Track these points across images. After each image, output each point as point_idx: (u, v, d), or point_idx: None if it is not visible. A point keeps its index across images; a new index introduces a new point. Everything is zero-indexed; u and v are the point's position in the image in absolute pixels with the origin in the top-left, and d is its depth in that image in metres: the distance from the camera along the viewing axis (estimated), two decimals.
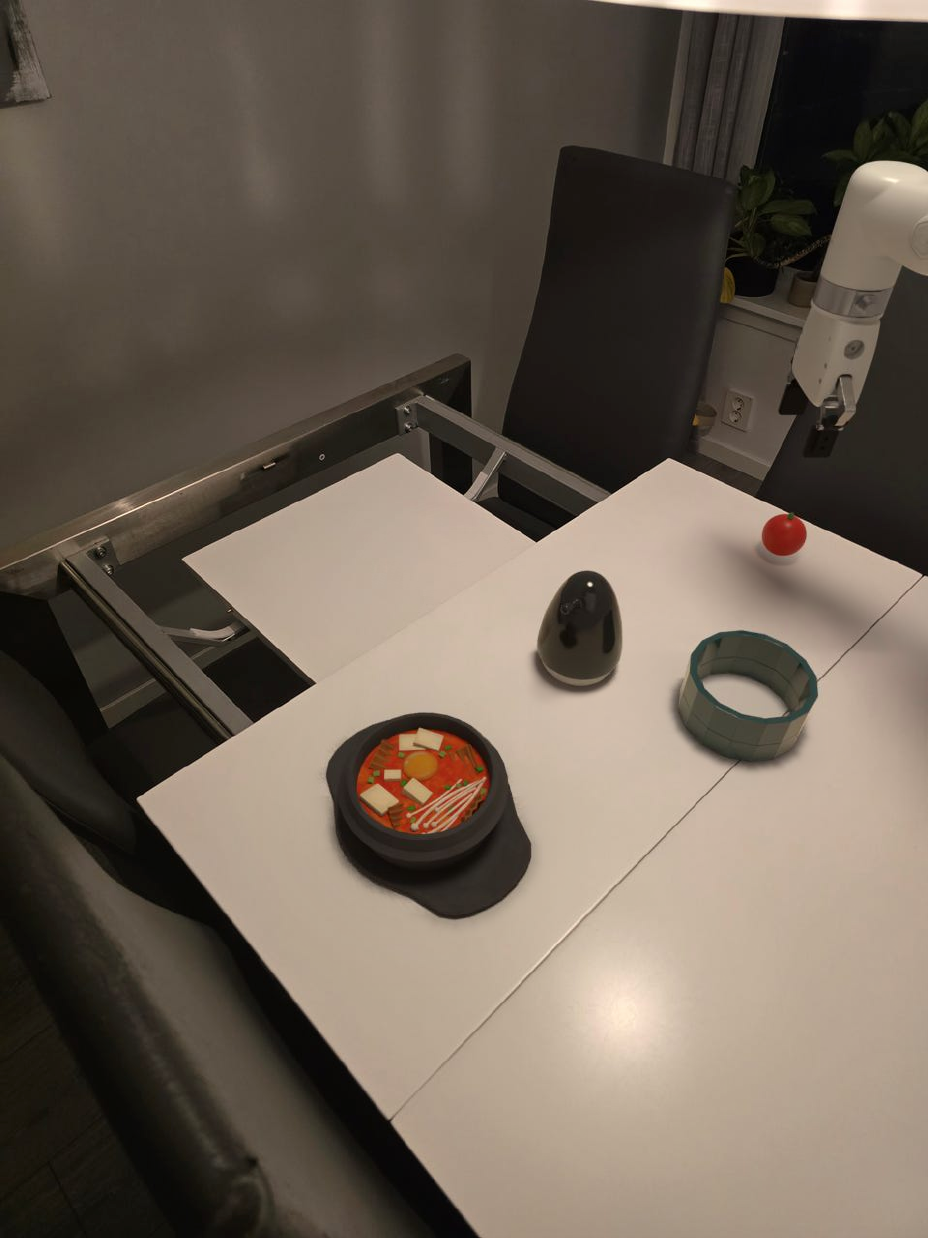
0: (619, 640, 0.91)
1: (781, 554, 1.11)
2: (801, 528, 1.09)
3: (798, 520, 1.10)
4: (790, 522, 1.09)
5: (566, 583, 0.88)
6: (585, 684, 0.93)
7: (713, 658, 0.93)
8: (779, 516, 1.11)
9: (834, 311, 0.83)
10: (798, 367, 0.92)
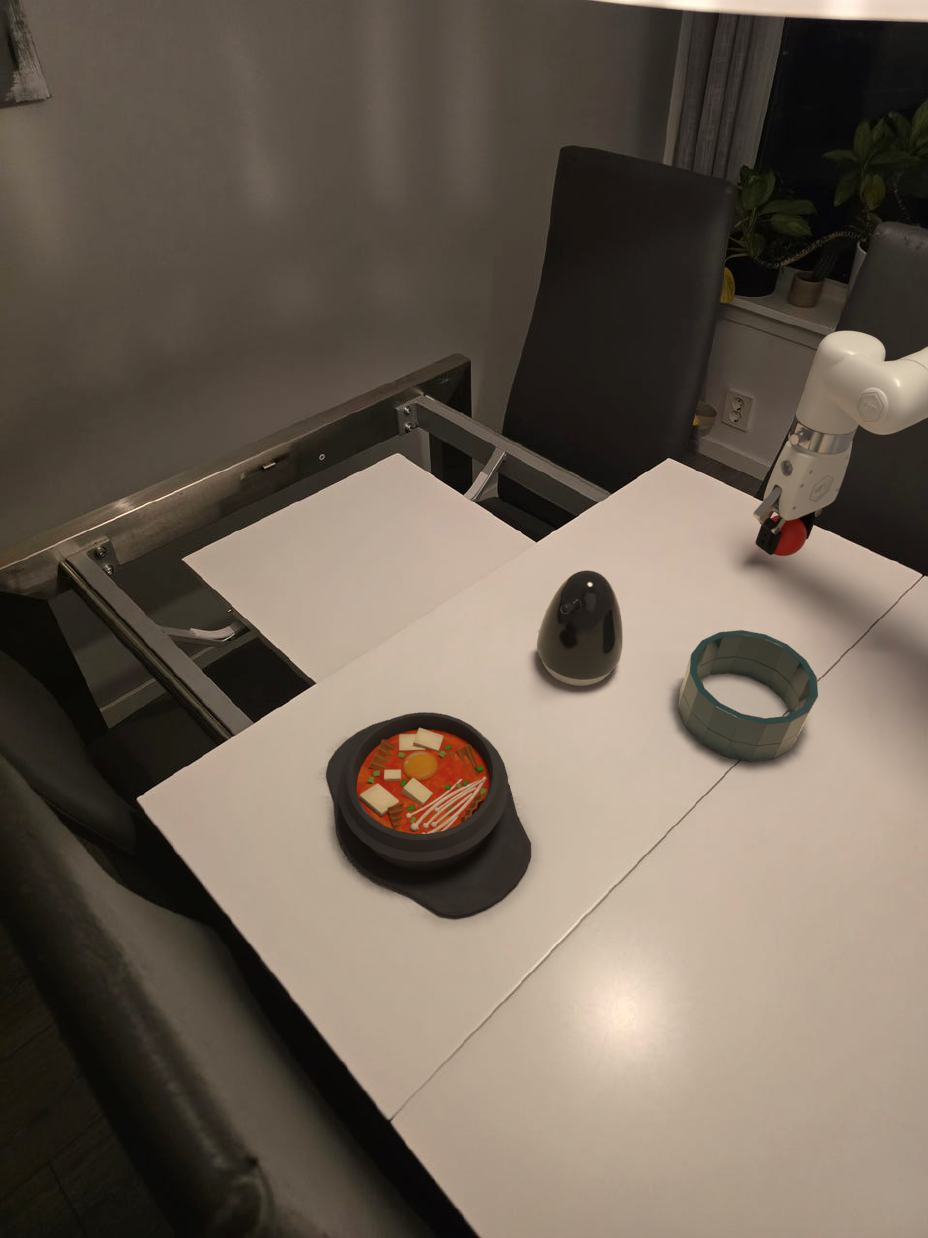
0: (619, 640, 0.91)
1: (781, 554, 1.11)
2: (801, 528, 1.09)
3: (798, 520, 1.10)
4: (790, 522, 1.09)
5: (566, 583, 0.88)
6: (585, 684, 0.93)
7: (713, 658, 0.93)
8: (779, 516, 1.11)
9: (790, 433, 1.01)
10: None
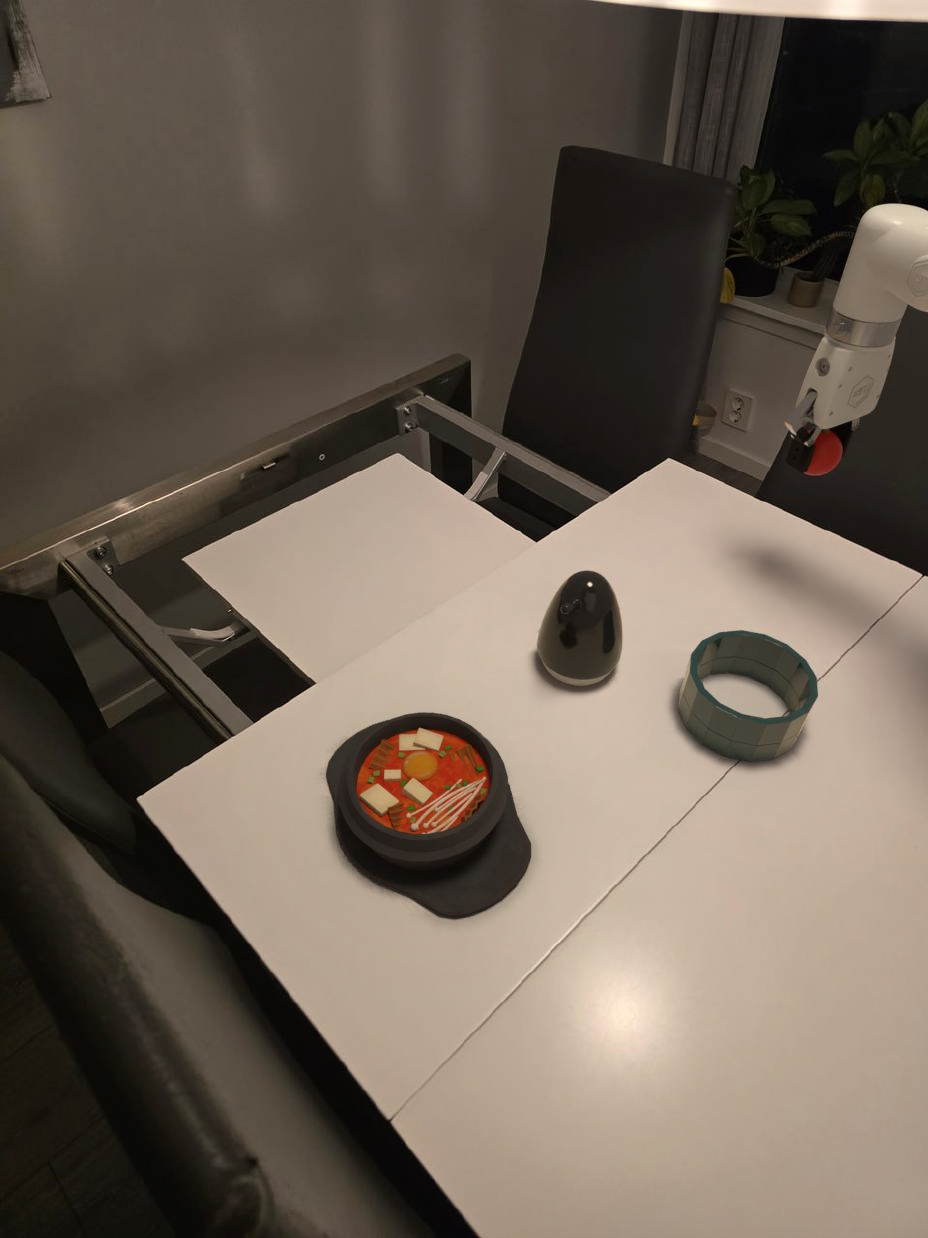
0: (619, 640, 0.91)
1: (814, 472, 1.01)
2: (836, 442, 0.99)
3: (833, 434, 1.00)
4: (824, 435, 0.99)
5: (566, 583, 0.88)
6: (585, 684, 0.93)
7: (713, 658, 0.93)
8: None
9: (826, 328, 0.91)
10: None
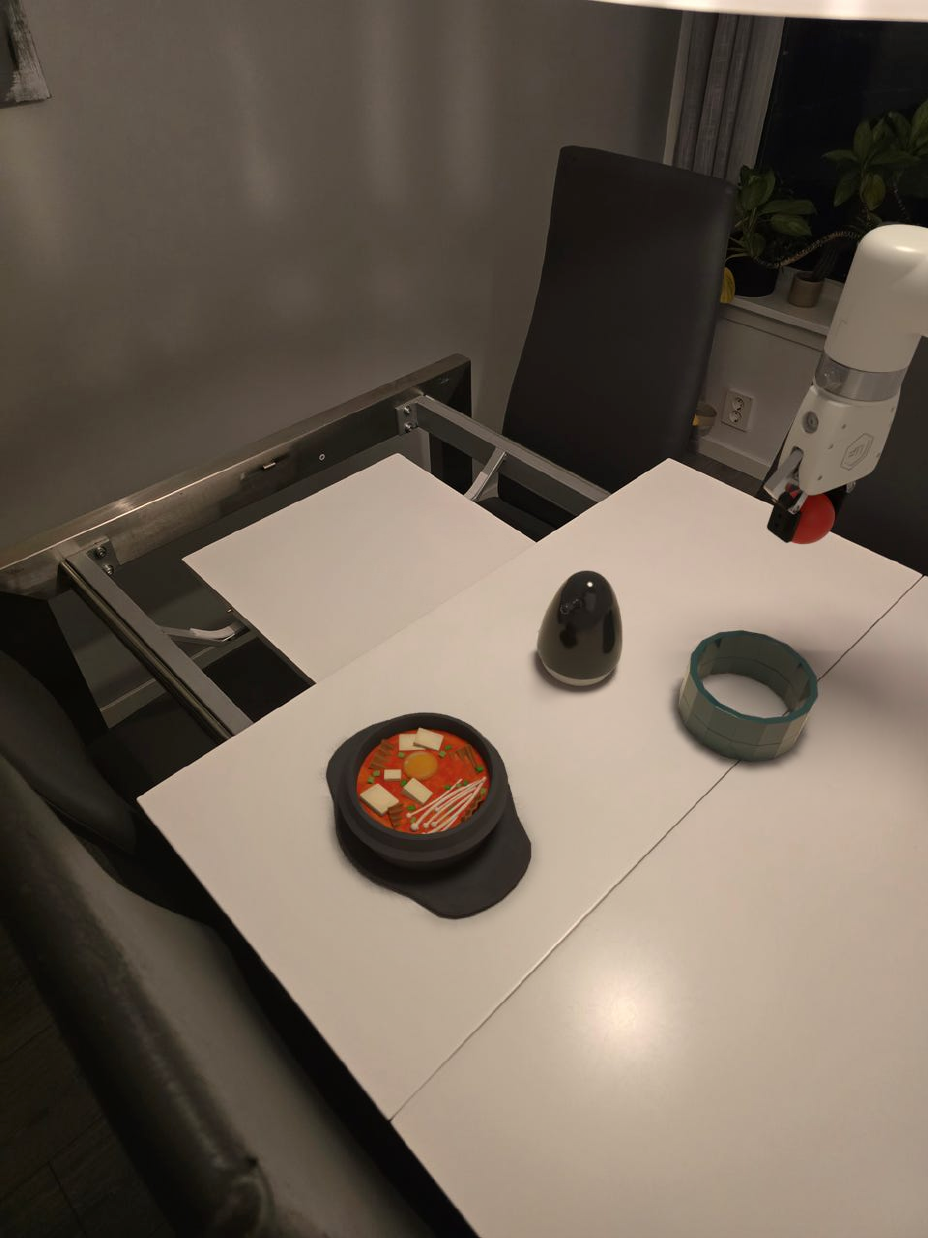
0: (619, 640, 0.91)
1: (800, 542, 0.84)
2: (827, 507, 0.82)
3: (824, 496, 0.83)
4: (813, 499, 0.82)
5: (566, 583, 0.88)
6: (585, 684, 0.93)
7: (713, 658, 0.93)
8: (798, 491, 0.84)
9: (815, 374, 0.74)
10: None
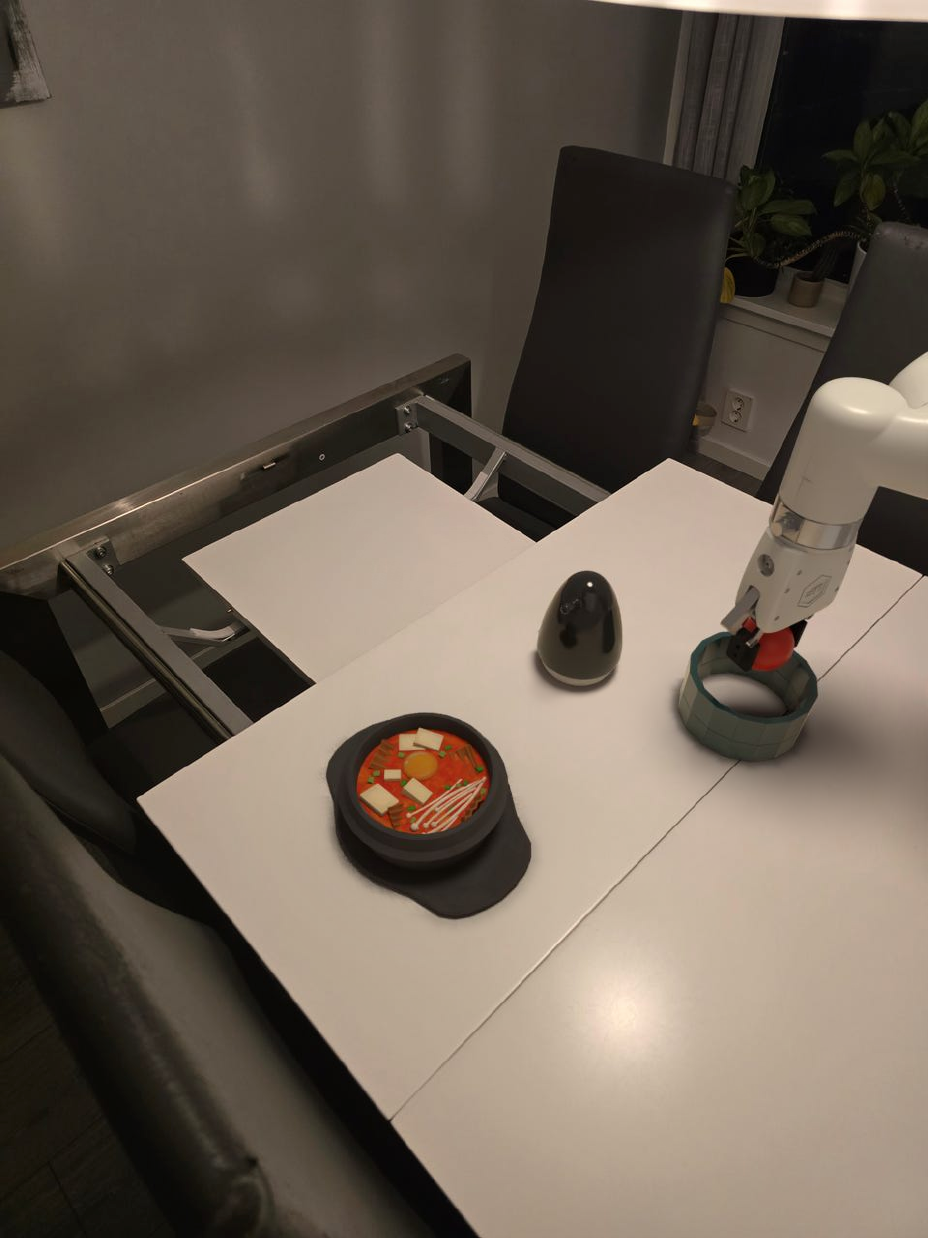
0: (619, 640, 0.91)
1: (760, 670, 0.82)
2: (786, 638, 0.80)
3: None
4: None
5: (566, 584, 0.88)
6: (585, 684, 0.93)
7: (713, 658, 0.93)
8: None
9: (771, 516, 0.72)
10: None
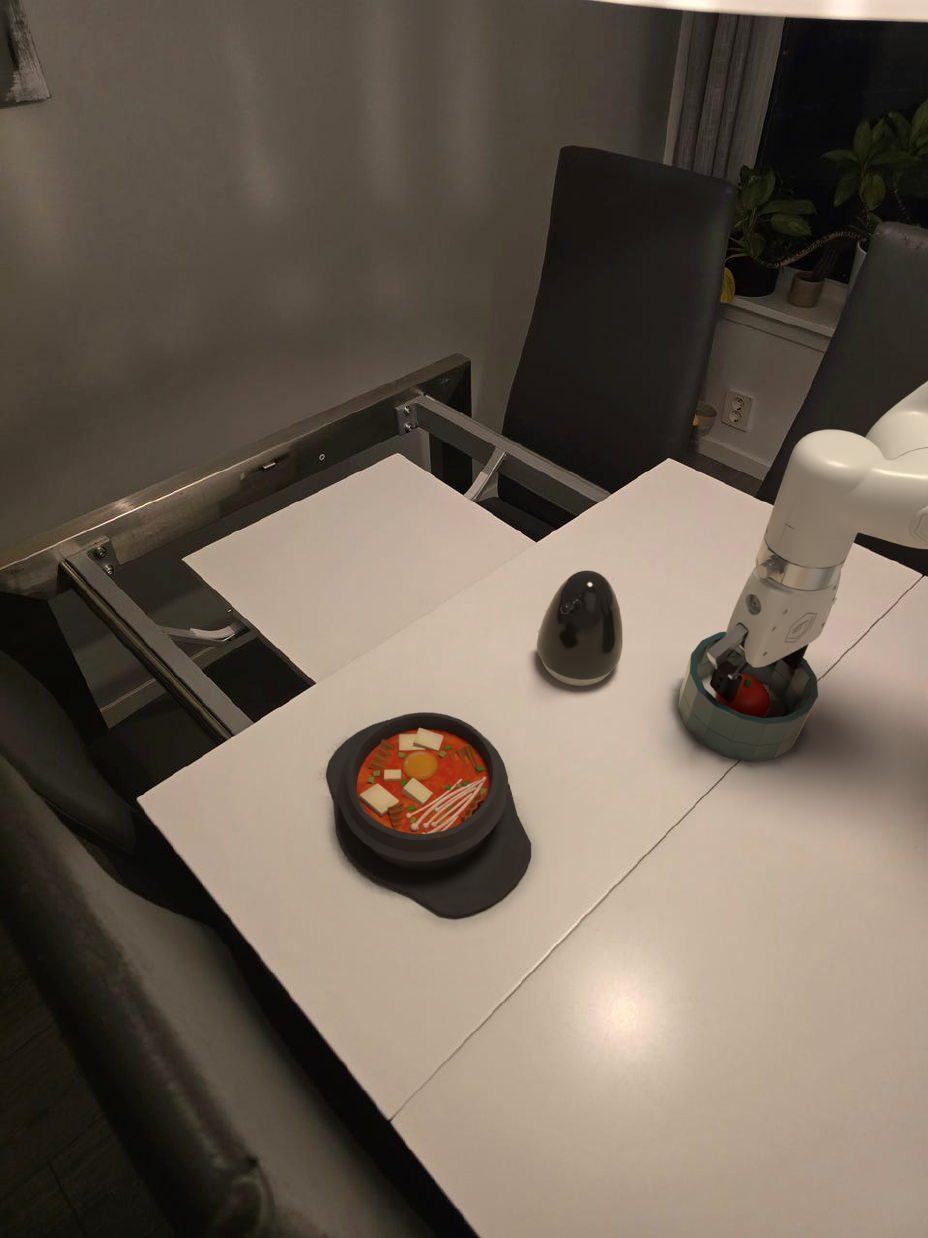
0: (619, 640, 0.91)
1: None
2: (761, 698, 0.87)
3: (757, 686, 0.87)
4: (747, 691, 0.87)
5: (566, 584, 0.88)
6: (585, 684, 0.93)
7: None
8: None
9: (757, 557, 0.76)
10: None
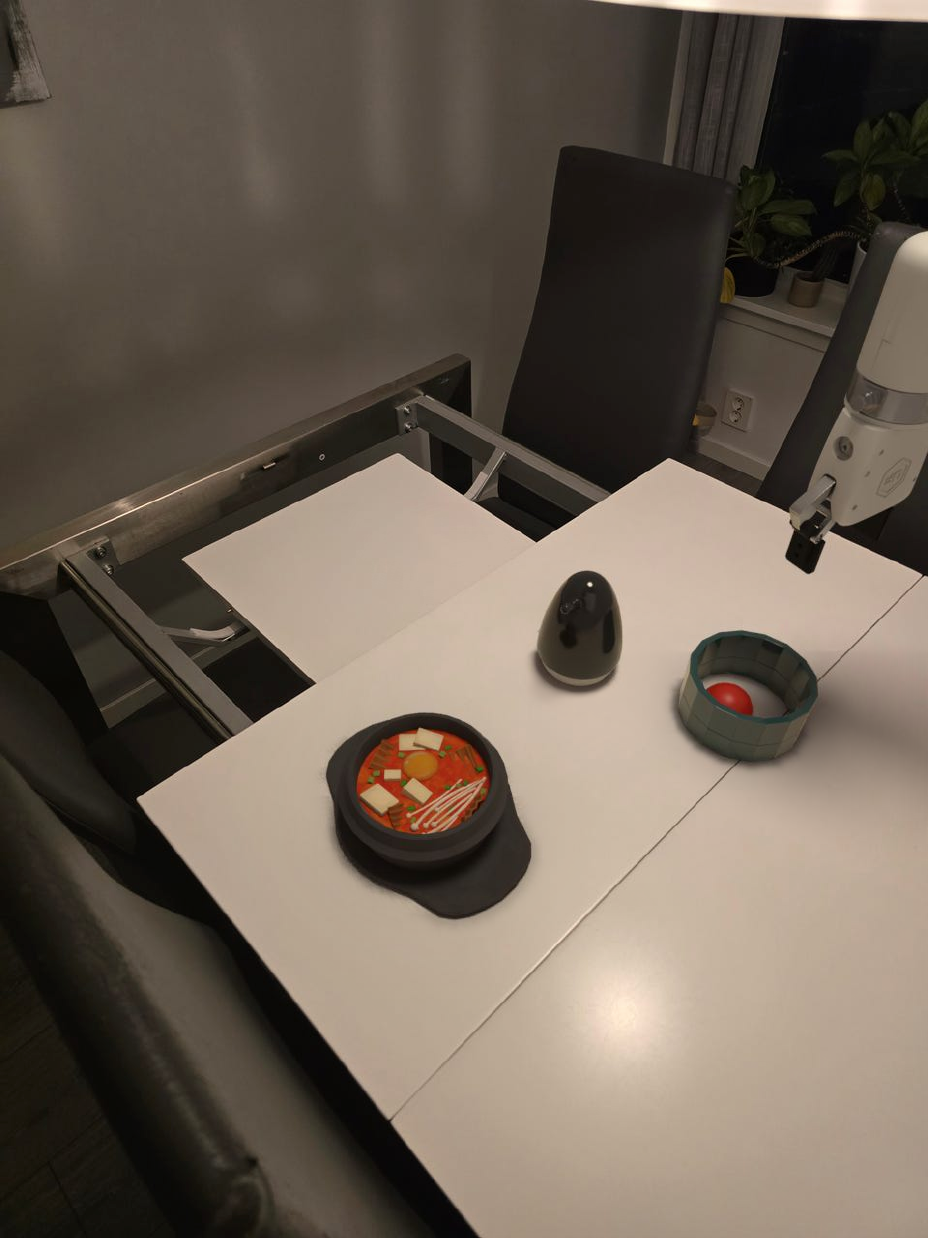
0: (619, 640, 0.91)
1: None
2: None
3: (724, 704, 0.86)
4: None
5: (566, 583, 0.88)
6: (585, 684, 0.93)
7: (713, 658, 0.93)
8: None
9: (847, 395, 0.68)
10: None
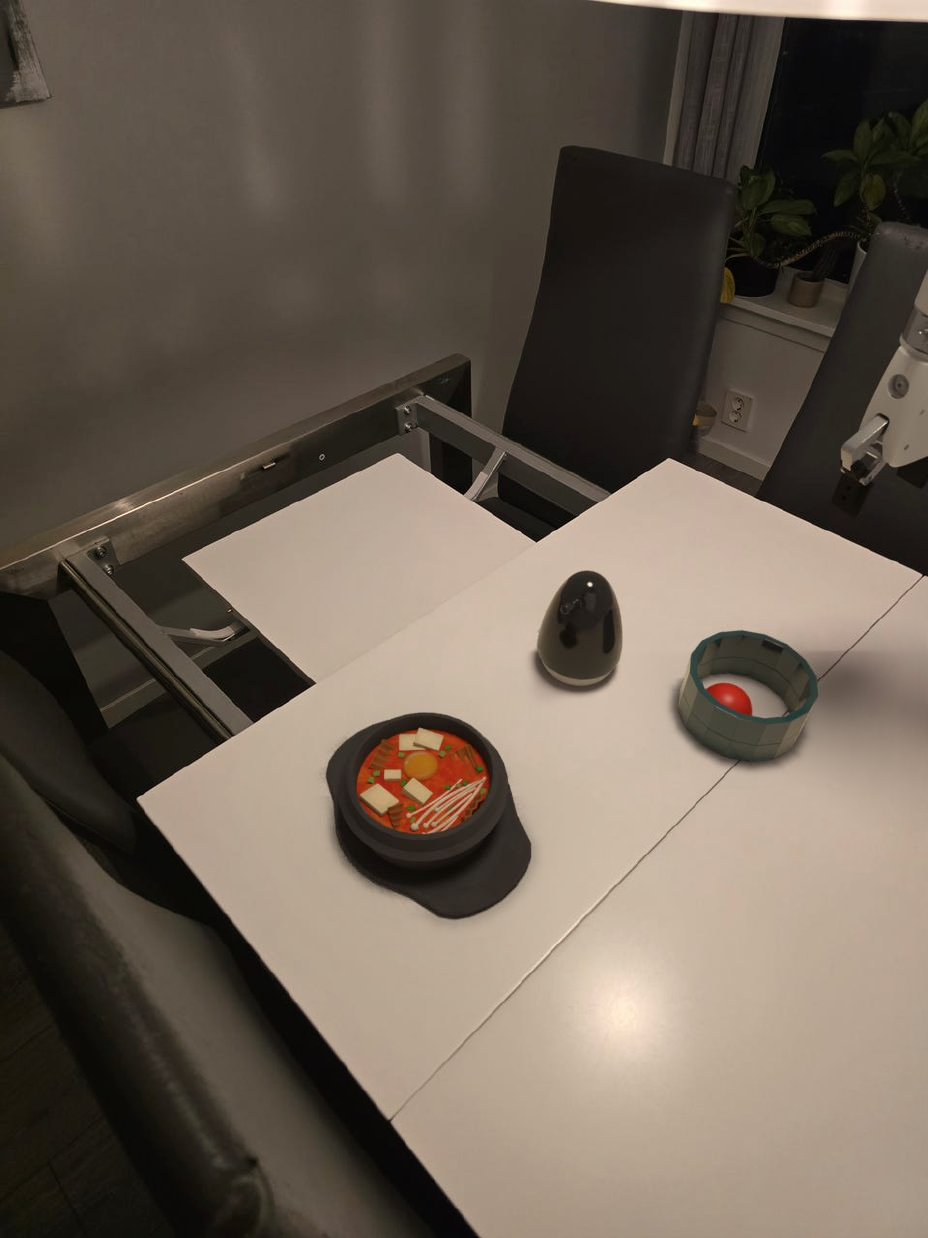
0: (619, 640, 0.91)
1: None
2: None
3: None
4: None
5: (566, 583, 0.88)
6: (585, 684, 0.93)
7: (713, 658, 0.93)
8: None
9: (903, 334, 0.68)
10: None
